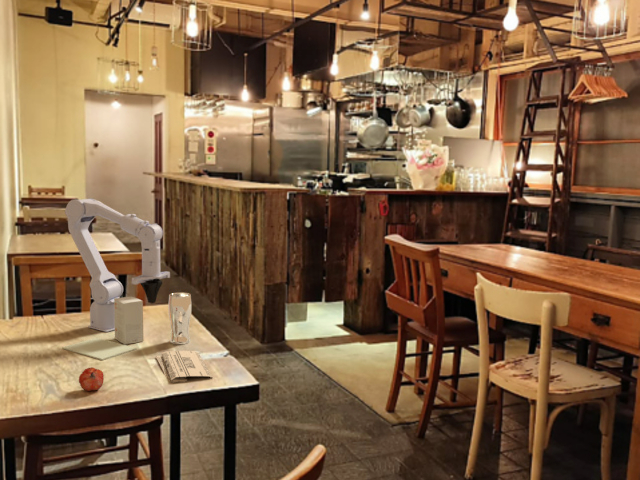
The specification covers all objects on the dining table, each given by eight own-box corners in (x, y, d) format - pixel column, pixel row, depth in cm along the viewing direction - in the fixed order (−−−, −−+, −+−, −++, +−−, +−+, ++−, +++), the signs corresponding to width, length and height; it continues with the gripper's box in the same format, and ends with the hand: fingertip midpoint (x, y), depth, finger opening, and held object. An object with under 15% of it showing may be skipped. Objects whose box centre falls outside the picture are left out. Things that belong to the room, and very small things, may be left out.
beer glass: (195, 339, 183) (195, 293, 181) (183, 346, 176) (183, 298, 174) (176, 337, 185) (176, 291, 183) (164, 343, 178) (163, 295, 176)
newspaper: (155, 359, 166) (155, 350, 166) (197, 359, 171) (198, 350, 170) (164, 387, 145) (165, 377, 145) (212, 386, 150) (213, 376, 149)
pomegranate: (78, 394, 142) (75, 385, 136) (81, 372, 145) (79, 362, 139) (102, 395, 143) (101, 386, 137) (105, 373, 146) (104, 363, 140)
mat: (62, 348, 171) (62, 347, 171) (96, 338, 181) (96, 337, 181) (102, 360, 162) (102, 359, 162) (136, 349, 172) (136, 348, 172)
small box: (144, 341, 180) (143, 300, 178) (123, 345, 176) (123, 303, 174) (133, 335, 186) (133, 295, 184) (114, 338, 182) (113, 298, 180)
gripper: (142, 265, 179) (143, 308, 180) (176, 259, 191) (176, 299, 193) (126, 263, 182) (127, 305, 184) (161, 257, 195) (161, 297, 196)
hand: (151, 302), depth 189 cm, fingers closed
